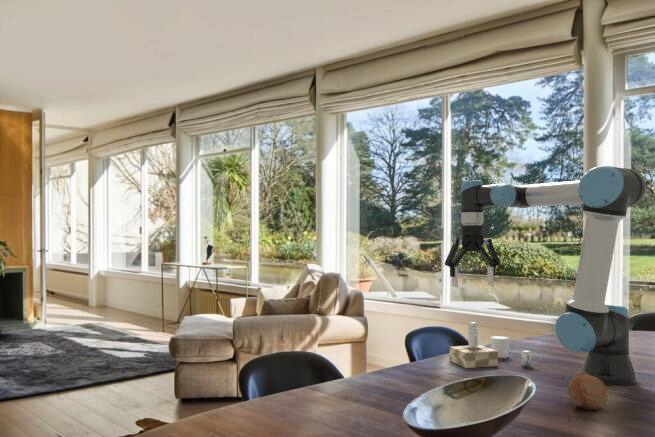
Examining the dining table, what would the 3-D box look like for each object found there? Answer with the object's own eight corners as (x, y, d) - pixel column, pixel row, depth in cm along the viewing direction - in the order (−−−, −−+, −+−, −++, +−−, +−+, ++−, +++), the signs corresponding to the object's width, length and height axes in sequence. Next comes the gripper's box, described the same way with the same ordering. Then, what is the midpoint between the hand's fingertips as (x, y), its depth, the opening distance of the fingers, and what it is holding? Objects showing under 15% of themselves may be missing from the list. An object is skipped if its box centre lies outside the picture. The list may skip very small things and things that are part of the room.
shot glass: (511, 358, 222) (511, 338, 222) (492, 358, 222) (492, 338, 222) (506, 354, 229) (506, 335, 229) (488, 354, 229) (488, 335, 229)
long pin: (479, 364, 213) (479, 323, 213) (471, 364, 212) (471, 323, 212) (475, 362, 216) (475, 321, 216) (467, 362, 215) (466, 322, 215)
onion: (579, 415, 163) (574, 377, 168) (616, 412, 157) (609, 373, 162) (564, 409, 157) (559, 370, 162) (602, 406, 151) (595, 365, 156)
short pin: (533, 366, 208) (533, 352, 208) (524, 367, 207) (524, 352, 207) (527, 364, 211) (527, 350, 211) (519, 365, 210) (519, 350, 210)
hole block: (497, 365, 210) (497, 351, 210) (465, 368, 207) (465, 353, 207) (480, 358, 221) (480, 344, 221) (449, 360, 218) (449, 346, 218)
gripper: (498, 224, 222) (499, 284, 221) (434, 224, 215) (435, 286, 215) (510, 224, 215) (510, 285, 214) (444, 224, 208) (444, 287, 208)
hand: (472, 286), depth 214 cm, fingers open, 13 cm apart
